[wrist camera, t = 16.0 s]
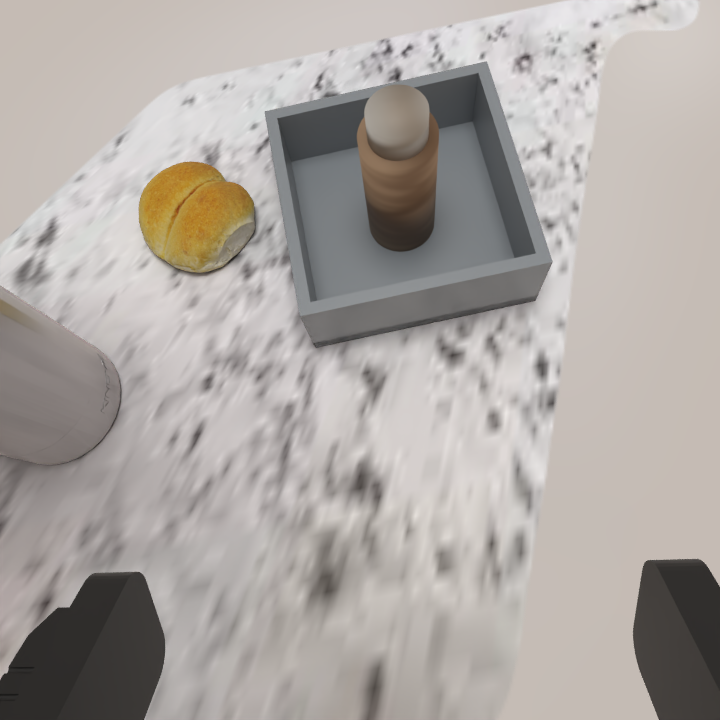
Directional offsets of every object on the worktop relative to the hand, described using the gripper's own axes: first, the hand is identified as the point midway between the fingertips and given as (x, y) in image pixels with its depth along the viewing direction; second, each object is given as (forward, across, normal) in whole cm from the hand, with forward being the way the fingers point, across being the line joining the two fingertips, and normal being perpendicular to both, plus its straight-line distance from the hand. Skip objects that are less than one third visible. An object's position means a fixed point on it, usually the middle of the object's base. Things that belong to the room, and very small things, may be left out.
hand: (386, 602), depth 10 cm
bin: (+39, 0, +4) cm, 39 cm away
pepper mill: (+38, 0, +3) cm, 38 cm away
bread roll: (+40, +15, +3) cm, 43 cm away
